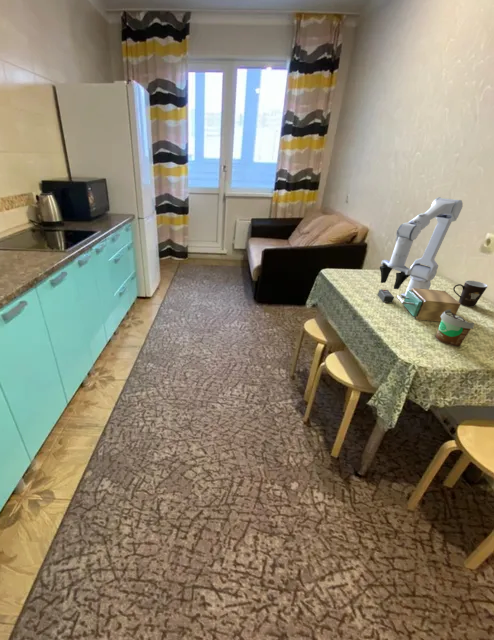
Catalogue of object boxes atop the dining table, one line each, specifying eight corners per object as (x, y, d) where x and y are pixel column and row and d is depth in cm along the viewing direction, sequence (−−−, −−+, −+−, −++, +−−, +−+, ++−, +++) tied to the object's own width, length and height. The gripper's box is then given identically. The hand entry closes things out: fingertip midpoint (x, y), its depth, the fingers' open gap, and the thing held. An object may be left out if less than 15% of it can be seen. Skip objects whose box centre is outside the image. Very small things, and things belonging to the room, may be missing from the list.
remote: (383, 301, 153) (385, 295, 152) (377, 294, 162) (379, 288, 160) (392, 302, 153) (394, 296, 151) (386, 295, 161) (388, 289, 159)
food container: (424, 332, 129) (435, 308, 123) (439, 332, 129) (450, 308, 124) (446, 348, 118) (459, 323, 113) (462, 348, 119) (475, 323, 113)
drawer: (400, 315, 139) (406, 300, 136) (391, 302, 151) (396, 288, 147) (444, 319, 137) (451, 304, 134) (431, 306, 148) (437, 292, 145)
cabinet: (417, 319, 138) (425, 300, 134) (405, 305, 151) (412, 287, 146) (451, 322, 137) (460, 303, 132) (437, 308, 149) (445, 290, 145)
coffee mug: (478, 304, 156) (489, 284, 151) (475, 309, 150) (486, 288, 145) (450, 297, 162) (459, 277, 157) (446, 301, 157) (456, 281, 152)
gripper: (379, 250, 140) (370, 280, 148) (406, 259, 129) (394, 292, 136) (392, 249, 142) (382, 279, 150) (420, 258, 131) (408, 291, 138)
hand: (389, 285), depth 143 cm, fingers open, 7 cm apart
